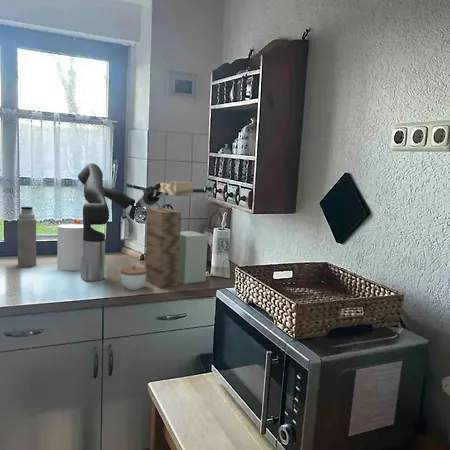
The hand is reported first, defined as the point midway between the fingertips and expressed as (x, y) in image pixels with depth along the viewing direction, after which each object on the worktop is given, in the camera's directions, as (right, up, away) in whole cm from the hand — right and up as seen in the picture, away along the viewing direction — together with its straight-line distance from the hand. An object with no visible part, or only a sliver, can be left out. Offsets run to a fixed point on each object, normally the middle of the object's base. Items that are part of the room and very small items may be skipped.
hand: (163, 184), depth 219 cm
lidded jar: (-8, -46, -31) cm, 56 cm away
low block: (+13, -44, -13) cm, 48 cm away
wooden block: (+4, -4, -6) cm, 8 cm away
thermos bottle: (-65, -39, -4) cm, 76 cm away
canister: (-44, -40, -3) cm, 59 cm away
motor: (-46, -37, +15) cm, 61 cm away
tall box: (+2, -45, -22) cm, 50 cm away
